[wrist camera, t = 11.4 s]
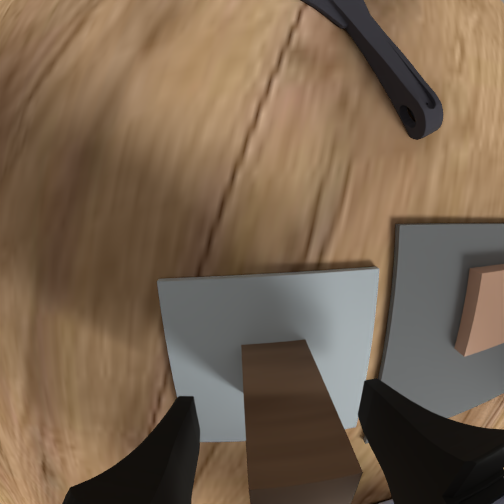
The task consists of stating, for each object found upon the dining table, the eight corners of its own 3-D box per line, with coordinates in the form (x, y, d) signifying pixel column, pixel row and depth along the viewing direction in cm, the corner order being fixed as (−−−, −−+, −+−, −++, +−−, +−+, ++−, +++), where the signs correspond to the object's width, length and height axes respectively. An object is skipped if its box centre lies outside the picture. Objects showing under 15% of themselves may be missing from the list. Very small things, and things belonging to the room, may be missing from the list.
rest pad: (354, 422, 16) (356, 426, 16) (188, 437, 15) (188, 441, 15) (375, 266, 14) (379, 268, 13) (159, 278, 13) (157, 281, 13)
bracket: (294, 202, 14) (309, 206, 11) (149, -23, 10) (137, -51, 8) (484, 99, 13) (513, 92, 10) (355, -76, 10) (368, -98, 7)
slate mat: (527, 376, 17) (529, 378, 17) (363, 439, 16) (365, 443, 16) (562, 224, 14) (566, 224, 14) (395, 223, 13) (399, 225, 13)
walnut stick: (303, 388, 15) (345, 517, 7) (244, 394, 14) (254, 530, 7) (305, 339, 14) (362, 472, 6) (241, 344, 14) (249, 489, 6)
